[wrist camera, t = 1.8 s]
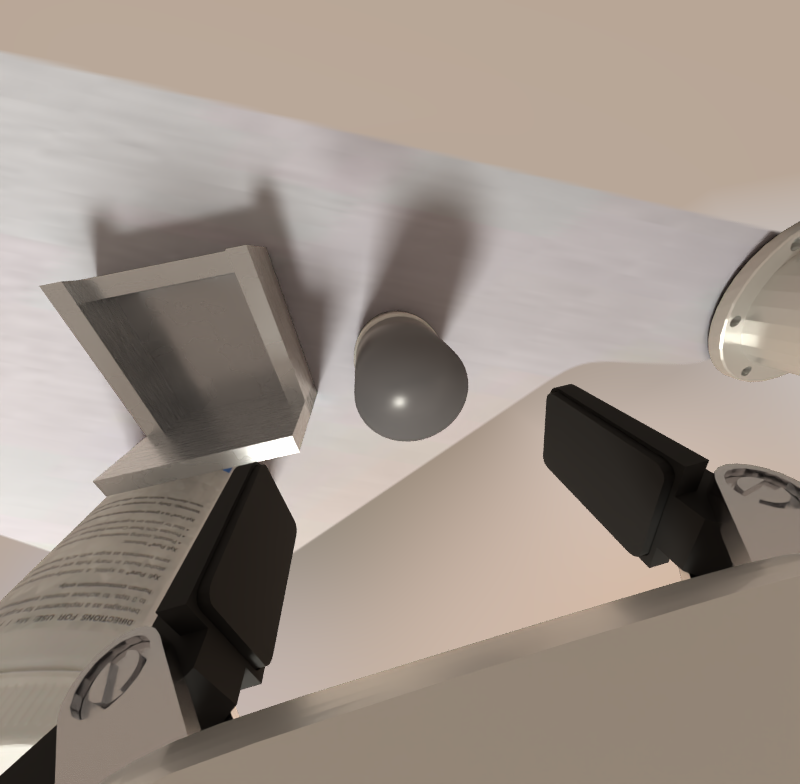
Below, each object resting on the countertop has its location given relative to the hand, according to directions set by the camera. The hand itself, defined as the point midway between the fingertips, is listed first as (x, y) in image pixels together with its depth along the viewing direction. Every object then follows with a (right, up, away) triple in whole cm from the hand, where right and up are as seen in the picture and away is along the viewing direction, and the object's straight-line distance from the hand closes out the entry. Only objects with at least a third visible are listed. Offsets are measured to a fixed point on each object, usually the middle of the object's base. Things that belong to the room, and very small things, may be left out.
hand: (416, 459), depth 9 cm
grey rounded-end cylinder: (-1, +5, +11) cm, 12 cm away
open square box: (-12, +5, +9) cm, 16 cm away
